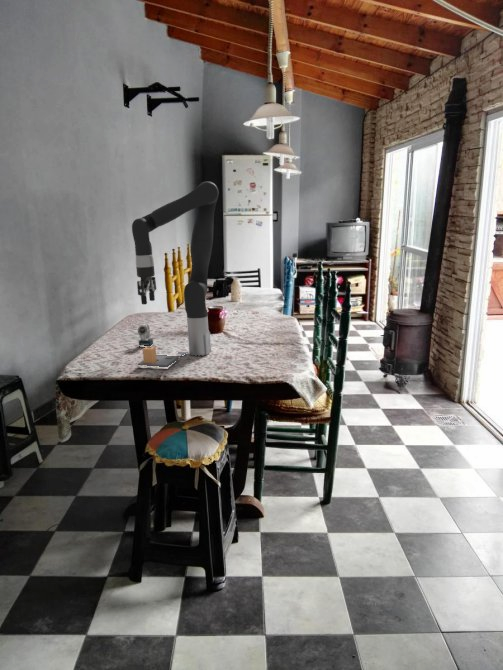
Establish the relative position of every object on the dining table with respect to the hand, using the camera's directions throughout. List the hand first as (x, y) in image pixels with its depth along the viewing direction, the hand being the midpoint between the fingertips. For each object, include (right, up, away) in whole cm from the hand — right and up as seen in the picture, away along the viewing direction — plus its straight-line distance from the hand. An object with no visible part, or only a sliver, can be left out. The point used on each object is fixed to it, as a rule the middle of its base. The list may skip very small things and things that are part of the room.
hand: (148, 302), depth 226 cm
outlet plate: (+6, -27, -6) cm, 28 cm away
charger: (+3, -27, -8) cm, 29 cm away
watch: (-5, -20, +22) cm, 31 cm away
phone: (+9, -24, +8) cm, 27 cm away
